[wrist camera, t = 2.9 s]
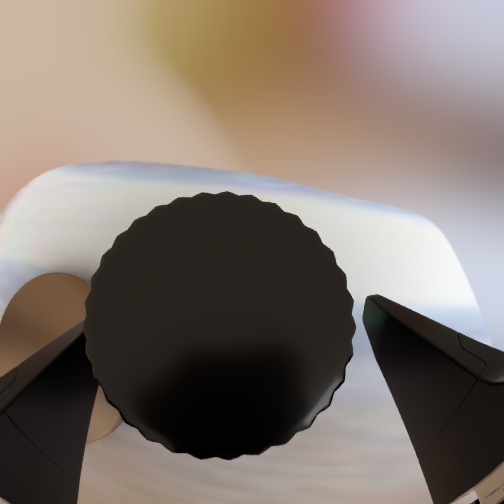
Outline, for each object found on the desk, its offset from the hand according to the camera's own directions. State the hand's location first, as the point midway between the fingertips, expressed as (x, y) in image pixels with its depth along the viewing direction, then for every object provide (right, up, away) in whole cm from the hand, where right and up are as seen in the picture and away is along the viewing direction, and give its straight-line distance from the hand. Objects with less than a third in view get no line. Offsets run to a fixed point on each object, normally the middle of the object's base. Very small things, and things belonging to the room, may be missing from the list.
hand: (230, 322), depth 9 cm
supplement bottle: (0, -3, +7) cm, 8 cm away
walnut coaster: (-11, -5, +6) cm, 14 cm away
